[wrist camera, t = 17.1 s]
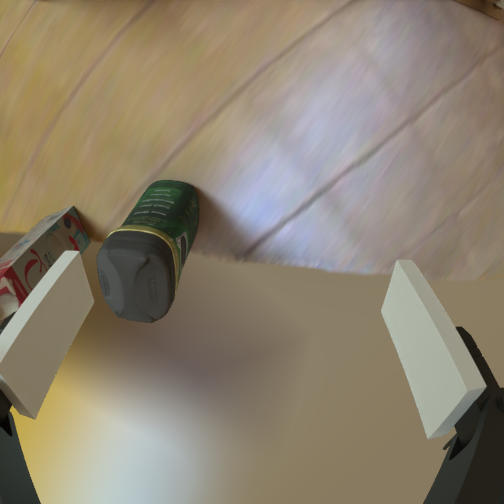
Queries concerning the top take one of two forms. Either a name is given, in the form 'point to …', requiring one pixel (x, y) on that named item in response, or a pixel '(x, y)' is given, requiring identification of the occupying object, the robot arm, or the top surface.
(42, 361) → the robot arm
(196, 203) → the coffee jar
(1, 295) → the juice carton
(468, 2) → the dish rack
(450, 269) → the top surface
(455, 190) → the top surface
